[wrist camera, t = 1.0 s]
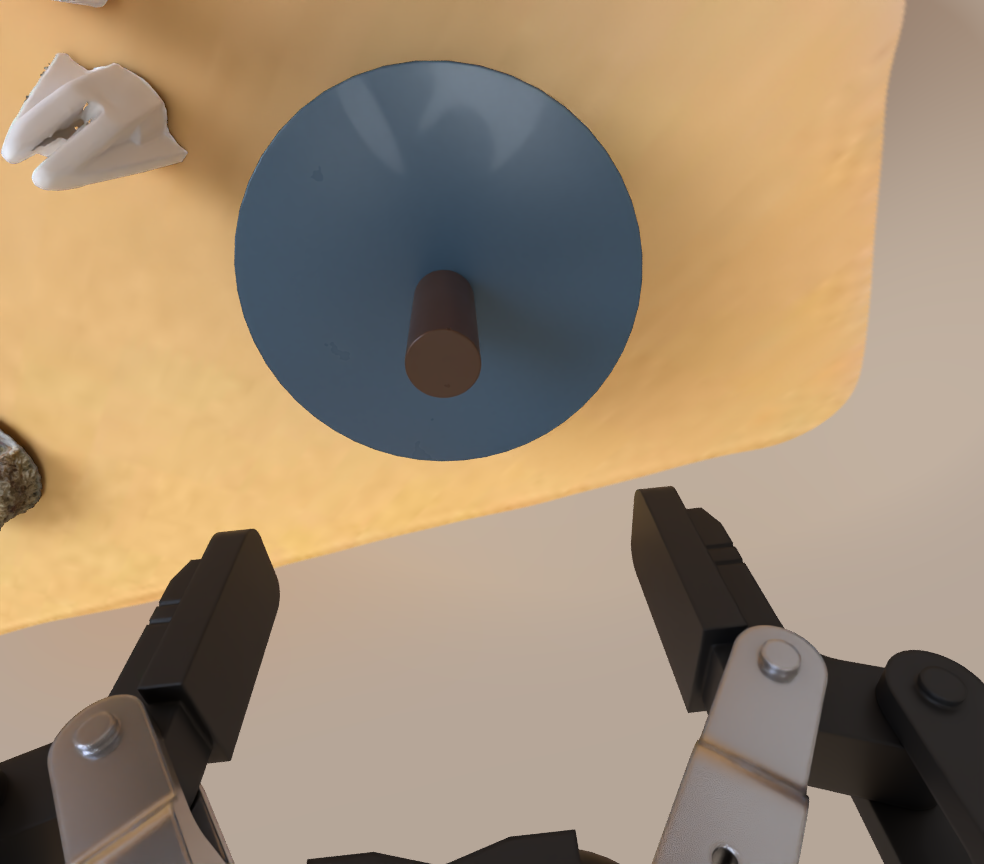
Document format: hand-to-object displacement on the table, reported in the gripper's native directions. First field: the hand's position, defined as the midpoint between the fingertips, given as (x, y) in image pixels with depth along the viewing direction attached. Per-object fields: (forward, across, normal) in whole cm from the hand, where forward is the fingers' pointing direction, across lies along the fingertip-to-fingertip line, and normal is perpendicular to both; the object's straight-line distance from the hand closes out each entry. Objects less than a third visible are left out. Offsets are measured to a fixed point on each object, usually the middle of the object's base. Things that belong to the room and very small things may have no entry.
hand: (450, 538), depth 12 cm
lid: (+15, 0, 0) cm, 16 cm away
